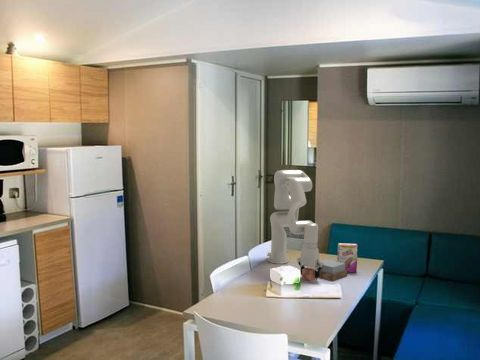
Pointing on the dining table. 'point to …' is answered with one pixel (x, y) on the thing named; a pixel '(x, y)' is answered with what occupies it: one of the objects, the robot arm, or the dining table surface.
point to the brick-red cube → (308, 274)
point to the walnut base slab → (333, 275)
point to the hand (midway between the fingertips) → (309, 275)
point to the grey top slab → (332, 267)
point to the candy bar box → (348, 256)
